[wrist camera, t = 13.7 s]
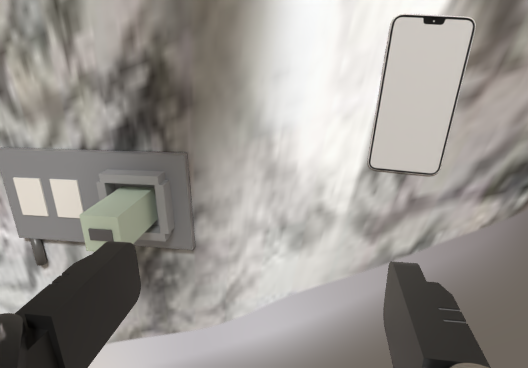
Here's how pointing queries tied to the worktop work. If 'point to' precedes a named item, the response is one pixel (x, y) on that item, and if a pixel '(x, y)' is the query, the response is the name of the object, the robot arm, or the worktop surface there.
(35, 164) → the power strip
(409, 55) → the smartphone
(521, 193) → the worktop surface
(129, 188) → the block
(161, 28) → the worktop surface
